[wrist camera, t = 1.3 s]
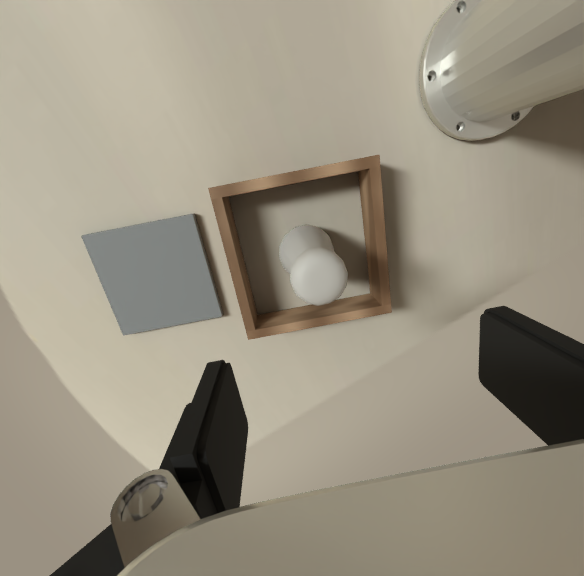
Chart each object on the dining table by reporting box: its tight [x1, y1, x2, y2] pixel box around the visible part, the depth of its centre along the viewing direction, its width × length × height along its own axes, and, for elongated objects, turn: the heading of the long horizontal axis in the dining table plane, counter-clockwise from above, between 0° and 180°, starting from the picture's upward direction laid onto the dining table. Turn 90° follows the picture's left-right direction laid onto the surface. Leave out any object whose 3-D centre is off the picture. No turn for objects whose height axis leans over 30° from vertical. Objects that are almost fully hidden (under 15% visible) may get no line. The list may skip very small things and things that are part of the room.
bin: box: [208, 155, 392, 340], centre depth 31 cm, size 16×16×4 cm
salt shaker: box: [279, 225, 348, 306], centre depth 26 cm, size 6×6×13 cm
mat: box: [81, 213, 223, 335], centre depth 32 cm, size 12×12×1 cm
